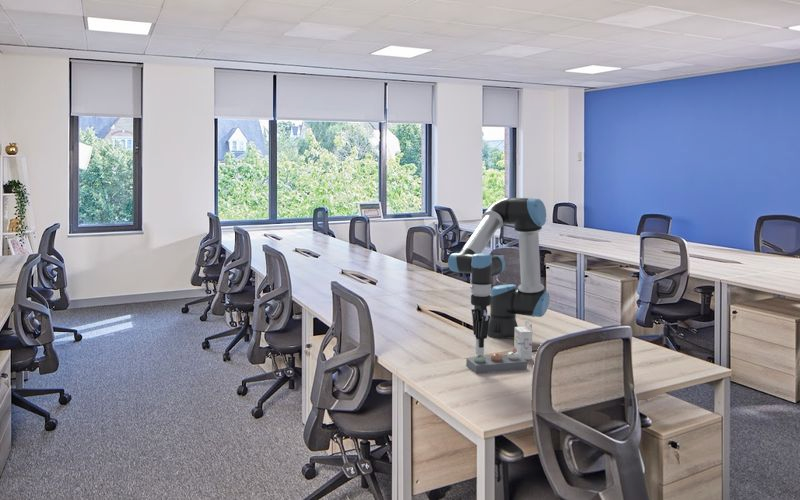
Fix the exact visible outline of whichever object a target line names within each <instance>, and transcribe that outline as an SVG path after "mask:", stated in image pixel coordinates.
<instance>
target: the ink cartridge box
mask: <svg viewBox="0 0 800 500" xmlns="http://www.w3.org/2000/svg"><path fill="white" fill-rule="evenodd" d="M513 339H514V341H513V342H514V343H513V345H514V346H513V352H518V353H519V356H520V357H521V358H523V359H524V360H526V361H527V360H529V361H530V360H533V359H532V358H533V355H532V354H533V324H532V323H530V321H528V320H527V319H524V326H518V327H515V336H514V338H513Z"/></svg>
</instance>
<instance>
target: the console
mask: <svg viewBox="0 0 800 500" xmlns="http://www.w3.org/2000/svg"><path fill="white" fill-rule="evenodd" d="M465 359H466V365H465V366H466V367H467V368H469V369H470V371H472V372H474V373H475V374H487V373H496V372H508V371H517V370H518V371H519V370H527V369H528V361H527V360H524V359H523V358H521V357H520V356H519V359H518V360H510V359H508V354H502V361H492V360H491V355H490V356H486V361H485V362H483V363H477V362H474V357H466V358H465Z"/></svg>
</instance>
